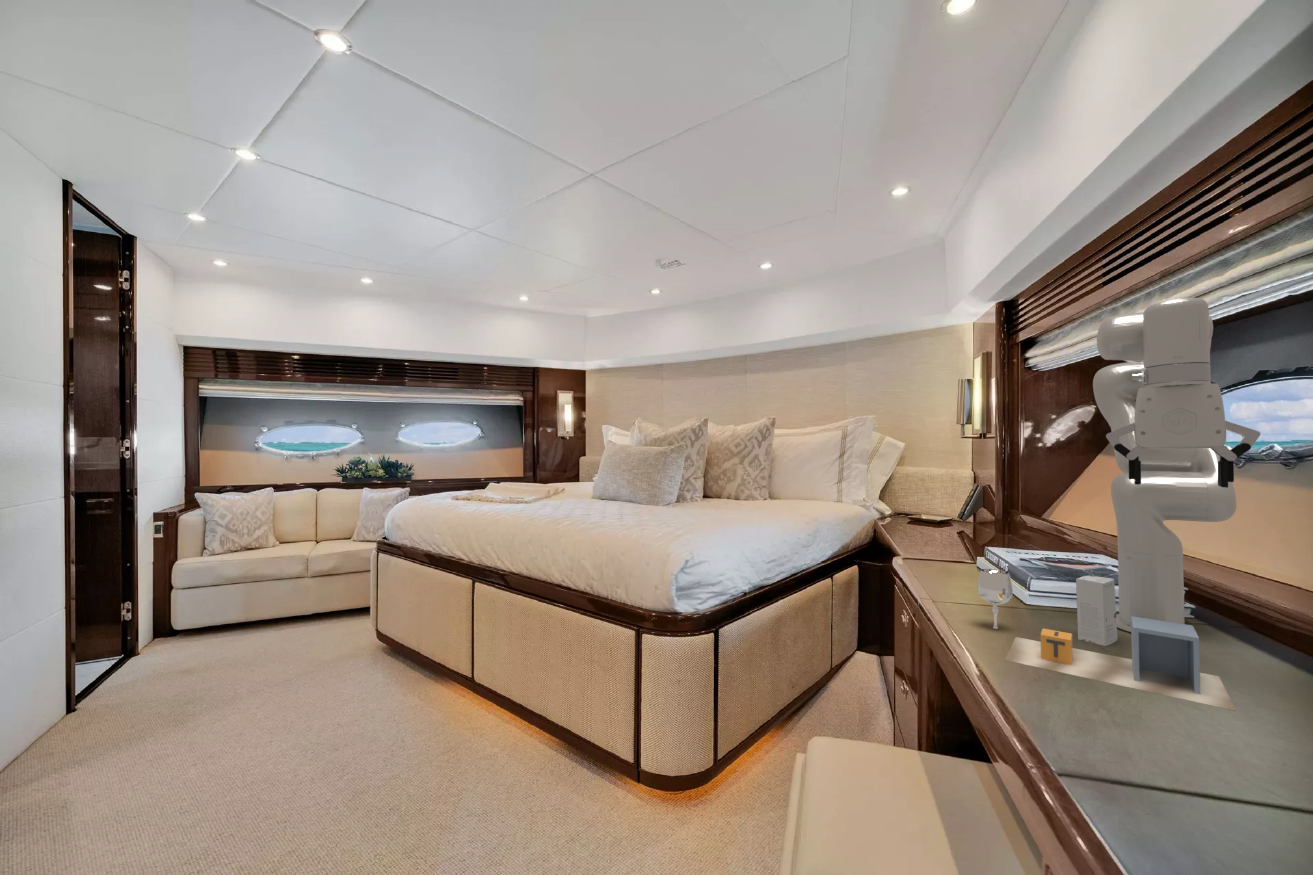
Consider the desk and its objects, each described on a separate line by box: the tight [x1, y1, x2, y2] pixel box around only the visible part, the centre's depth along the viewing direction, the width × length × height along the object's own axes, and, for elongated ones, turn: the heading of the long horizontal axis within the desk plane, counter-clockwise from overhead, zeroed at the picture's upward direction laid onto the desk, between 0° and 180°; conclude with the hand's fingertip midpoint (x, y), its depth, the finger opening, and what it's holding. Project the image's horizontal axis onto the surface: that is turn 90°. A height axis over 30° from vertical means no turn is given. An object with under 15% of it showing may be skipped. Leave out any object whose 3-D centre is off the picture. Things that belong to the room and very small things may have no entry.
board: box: [1004, 636, 1237, 712], centre depth 84 cm, size 26×14×1 cm, turn 49°
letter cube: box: [1040, 628, 1073, 665], centre depth 88 cm, size 4×4×4 cm
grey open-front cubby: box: [1130, 616, 1201, 695], centre depth 80 cm, size 7×7×8 cm
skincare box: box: [1075, 575, 1118, 647], centre depth 97 cm, size 6×4×12 cm
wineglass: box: [977, 568, 1014, 630], centre depth 103 cm, size 6×6×12 cm
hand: (1178, 485), depth 83 cm, fingers open, 9 cm apart
